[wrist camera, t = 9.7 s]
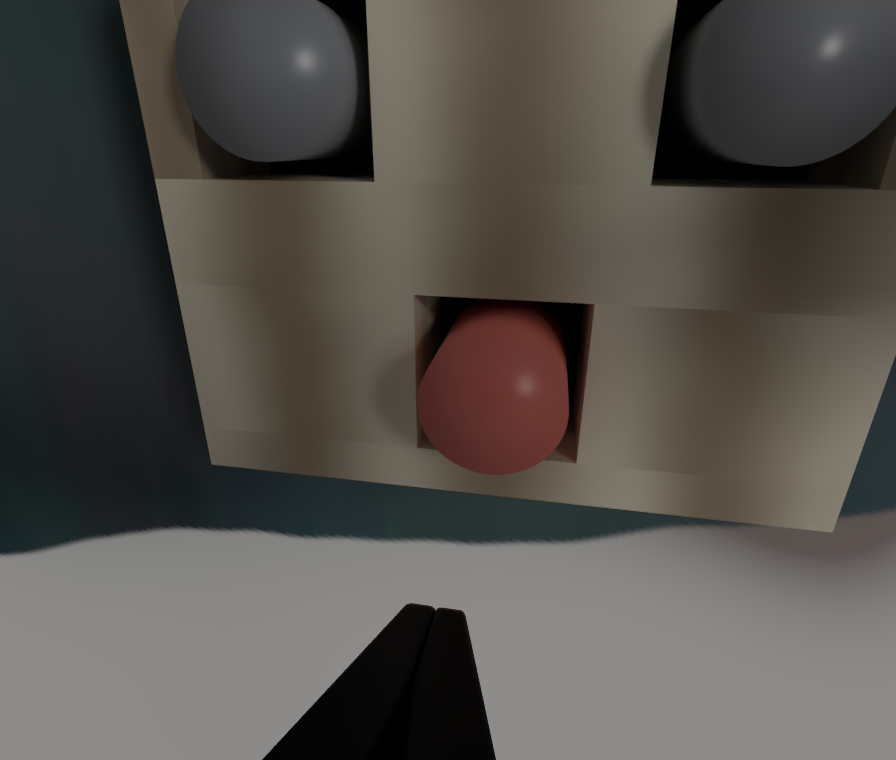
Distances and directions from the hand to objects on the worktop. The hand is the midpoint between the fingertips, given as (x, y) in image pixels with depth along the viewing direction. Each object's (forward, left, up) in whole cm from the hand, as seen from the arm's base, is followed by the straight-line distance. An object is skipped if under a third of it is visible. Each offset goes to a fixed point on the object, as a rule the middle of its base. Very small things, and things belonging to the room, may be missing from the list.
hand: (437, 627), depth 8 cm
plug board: (0, -4, -13) cm, 14 cm away
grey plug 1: (+6, -8, -12) cm, 16 cm away
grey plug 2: (-6, -8, -12) cm, 16 cm away
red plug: (0, 0, -12) cm, 12 cm away
